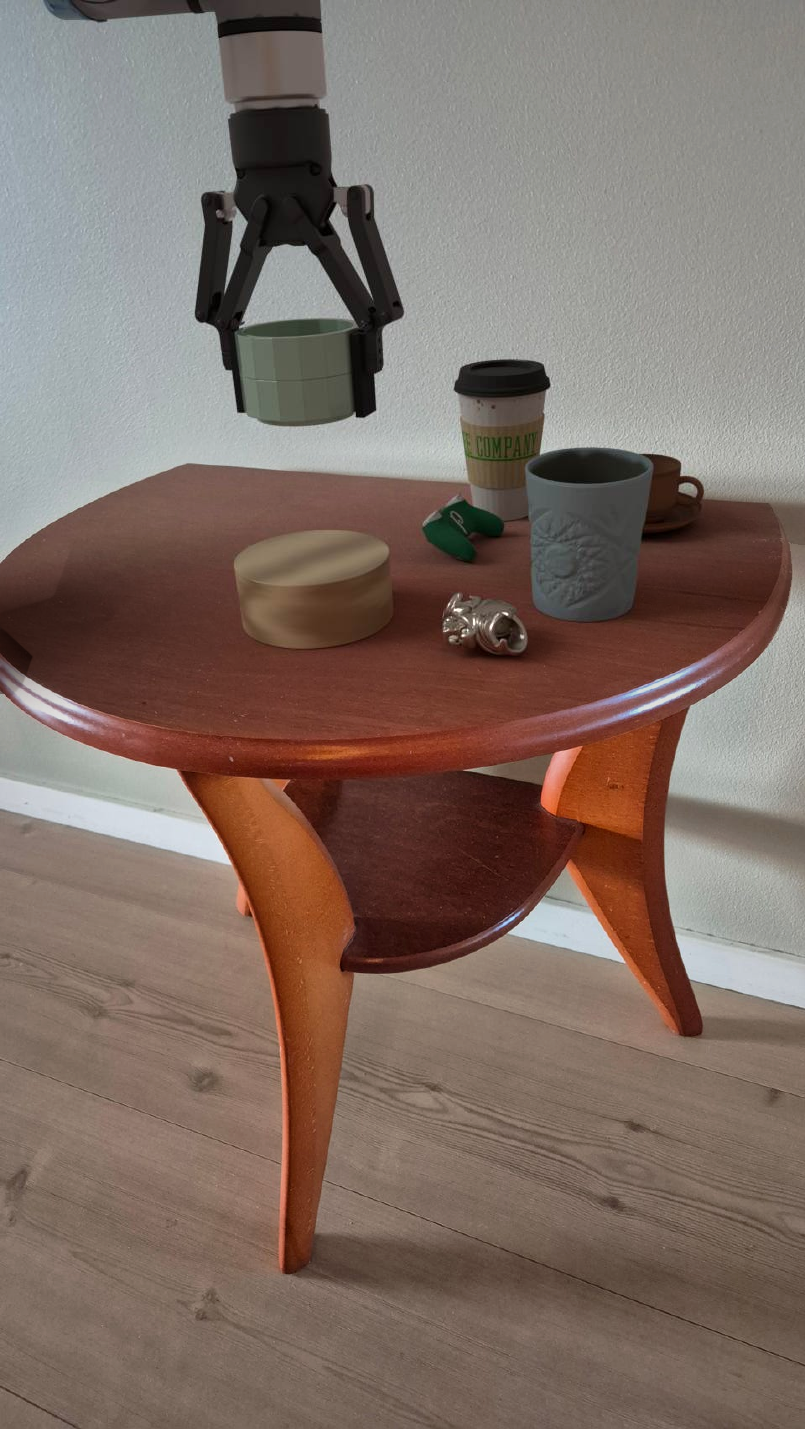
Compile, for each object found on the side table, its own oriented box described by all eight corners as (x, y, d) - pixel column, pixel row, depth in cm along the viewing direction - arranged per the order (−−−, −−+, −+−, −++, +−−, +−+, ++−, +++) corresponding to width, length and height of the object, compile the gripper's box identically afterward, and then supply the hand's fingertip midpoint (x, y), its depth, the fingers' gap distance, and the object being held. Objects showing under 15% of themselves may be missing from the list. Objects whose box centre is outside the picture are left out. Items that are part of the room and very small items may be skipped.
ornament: (413, 641, 80) (411, 599, 78) (480, 618, 83) (479, 577, 81) (476, 676, 74) (475, 632, 72) (544, 649, 77) (545, 606, 75)
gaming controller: (486, 548, 102) (447, 505, 102) (511, 525, 100) (470, 481, 100) (451, 580, 95) (409, 534, 95) (476, 556, 93) (433, 509, 93)
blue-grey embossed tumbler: (618, 575, 90) (626, 442, 84) (662, 619, 81) (675, 474, 75) (510, 587, 88) (510, 453, 82) (543, 634, 80) (546, 488, 74)
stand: (215, 615, 86) (205, 556, 84) (337, 576, 93) (332, 519, 90) (294, 664, 77) (287, 599, 75) (424, 616, 84) (421, 555, 81)
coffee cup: (439, 518, 106) (434, 373, 99) (486, 493, 113) (484, 355, 106) (520, 532, 101) (521, 380, 94) (564, 504, 108) (568, 361, 100)
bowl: (224, 416, 85) (212, 330, 82) (320, 396, 91) (313, 314, 87) (289, 436, 78) (279, 342, 75) (390, 412, 83) (385, 324, 80)
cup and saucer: (695, 505, 105) (700, 447, 102) (704, 544, 95) (711, 481, 92) (581, 504, 108) (583, 447, 105) (578, 542, 97) (580, 481, 94)
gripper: (440, 97, 72) (447, 406, 83) (172, 117, 80) (211, 398, 91) (403, 95, 66) (417, 428, 77) (118, 116, 74) (167, 417, 85)
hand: (306, 411), depth 84 cm, fingers closed on bowl, 10 cm apart
